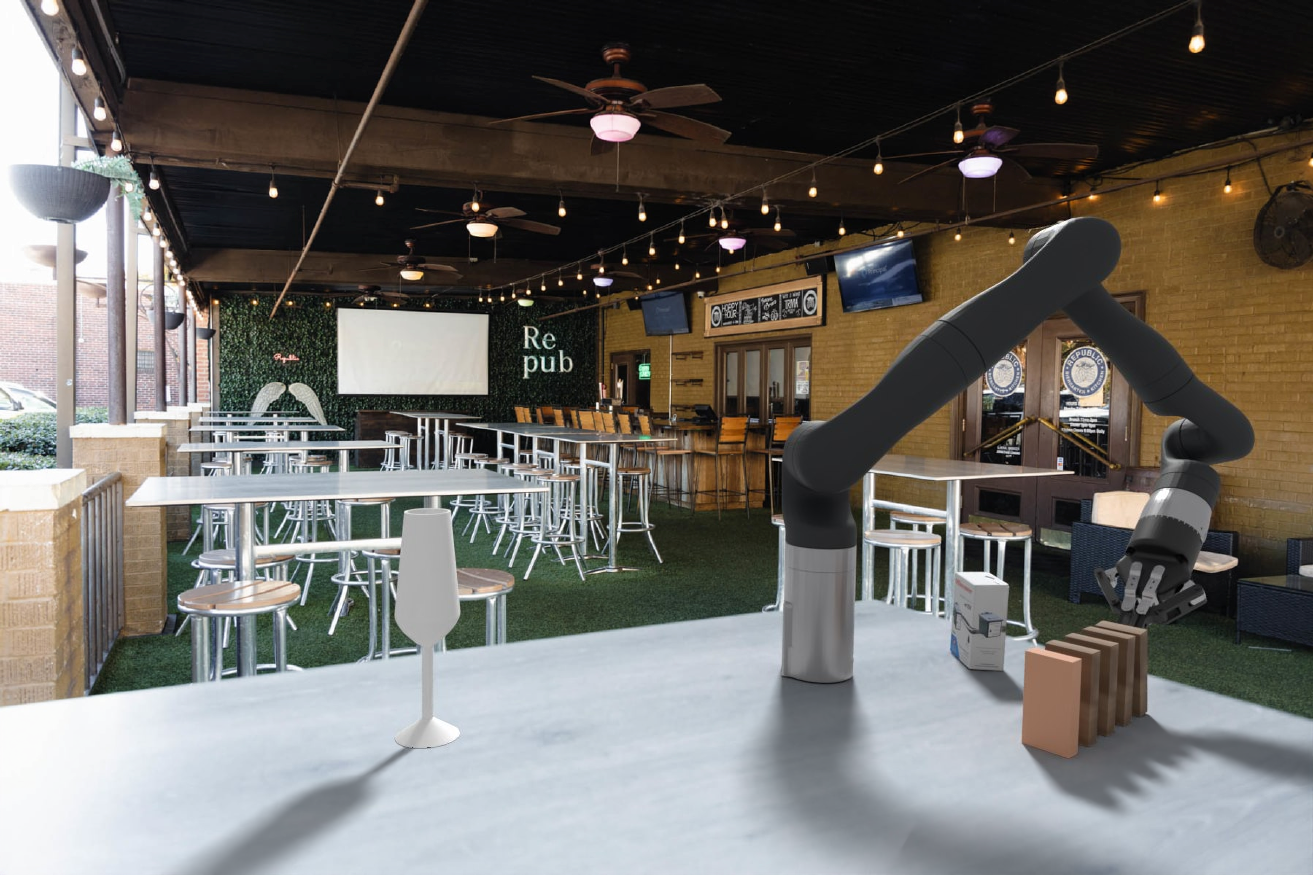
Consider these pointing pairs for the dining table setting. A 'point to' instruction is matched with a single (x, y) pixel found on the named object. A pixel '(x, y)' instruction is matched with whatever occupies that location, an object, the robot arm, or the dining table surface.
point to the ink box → (979, 620)
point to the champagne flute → (427, 608)
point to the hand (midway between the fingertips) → (1124, 643)
